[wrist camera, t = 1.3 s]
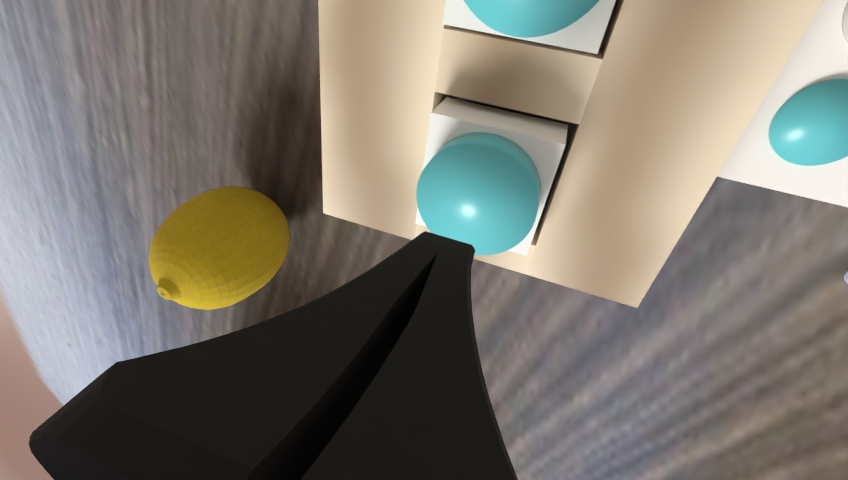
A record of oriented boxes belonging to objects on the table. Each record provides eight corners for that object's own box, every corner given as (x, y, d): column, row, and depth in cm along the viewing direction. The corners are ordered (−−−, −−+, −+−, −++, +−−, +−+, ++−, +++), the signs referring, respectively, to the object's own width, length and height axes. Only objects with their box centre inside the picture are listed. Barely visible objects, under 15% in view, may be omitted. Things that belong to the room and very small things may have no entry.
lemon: (221, 160, 23) (85, 232, 17) (305, 168, 22) (189, 251, 15) (248, 241, 26) (141, 328, 20) (323, 254, 25) (233, 352, 18)
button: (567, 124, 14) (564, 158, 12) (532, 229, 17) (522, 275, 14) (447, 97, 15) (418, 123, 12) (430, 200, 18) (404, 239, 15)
